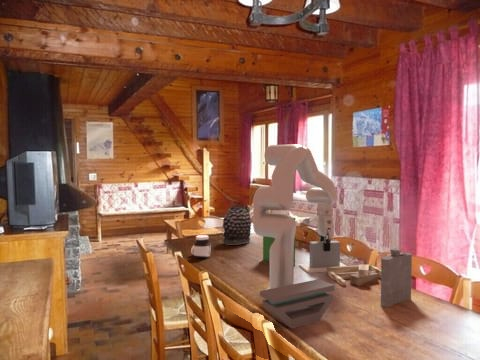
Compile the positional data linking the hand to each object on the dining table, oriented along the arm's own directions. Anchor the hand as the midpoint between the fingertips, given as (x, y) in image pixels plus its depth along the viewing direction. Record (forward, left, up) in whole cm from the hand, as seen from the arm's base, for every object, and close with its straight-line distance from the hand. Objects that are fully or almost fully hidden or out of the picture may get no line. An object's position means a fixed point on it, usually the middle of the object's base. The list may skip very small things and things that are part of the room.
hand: (324, 249), depth 192 cm
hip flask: (-48, -8, -10) cm, 50 cm away
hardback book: (+15, +19, -10) cm, 26 cm away
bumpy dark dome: (+65, +32, -10) cm, 73 cm away
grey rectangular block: (0, 0, -8) cm, 8 cm away
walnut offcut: (-24, -8, -10) cm, 27 cm away
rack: (-19, -8, -9) cm, 23 cm away
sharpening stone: (-57, +33, -10) cm, 66 cm away
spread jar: (+35, +58, -10) cm, 68 cm away
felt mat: (0, 0, -9) cm, 9 cm away
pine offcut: (-24, -8, -6) cm, 26 cm away
